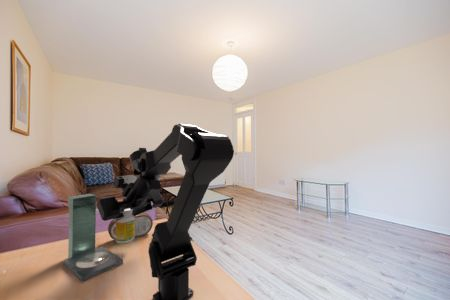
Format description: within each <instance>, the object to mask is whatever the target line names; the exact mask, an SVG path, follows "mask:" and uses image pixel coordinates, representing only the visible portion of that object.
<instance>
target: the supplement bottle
mask: <svg viewBox="0 0 450 300" xmlns="http://www.w3.org/2000/svg"><path fill="white" fill-rule="evenodd" d="M132 211H133V209H132V210H131V209H130V208H129V209H125V210H124V212H123V215H124V217H122V218H121V219H119V220H118V221H116V240H115V242H116V243H117V244H126V243H130V242H132V241H133V240H134V239H135V238H134V236H135V217H134V215H132Z"/></svg>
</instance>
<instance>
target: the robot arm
mask: <svg viewBox="0 0 450 300" xmlns="http://www.w3.org/2000/svg"><path fill="white" fill-rule="evenodd" d="M234 153H235V149H234V145H233V144H232V141H231V139H230V137H229V136H227V134H219V133H218V134H217V133H214V132H210V131H207V130H205V129H202V128H201V127H198V126H197V125H195V124H194V125H193V124H186V123H178V124H174V126H172V129H171V132H170V133H169V134H168V135H167V136H166V137H165V139H164V140H162V142H161V143H160V144H159V145H158V146H157V147H156V148H155V149H154V150H150V151H148V150H147V148H146V147H139V148H138V150H135V151H133V152H131V154H130V155H129V160H130V164H131V169H132V172H133V174H128V175H120V176H116V177H115V178H114V179H113V182H112V183H113V184H112V185H113V186H114V188H115V189H121V191H122V192H121V195H122V197H123V198H122V201H118V199H116V196H114V195H111V196H104V197H100V198H99V199H98V201H96V208H97V210H98V212H99V215H100V218H101V220H102V221H104V222H106V221H109V220H113V221H114V222H116V221H118V220H119V219H121V218H122V217H124V215H123V212H124V210H125V209H129V208H130V209H131V210H132V215H134V216H136V215H139V214H141V213H147V212H149V211H151V210H153V209H156V208H160V207H161V206H162V205H163V203H164V198H163V196H162V195H161V193H160V190H162V184H161V180H160V179H161V177H160V176H161V175H162V176H164V175H167V173H169V171H170V170H171V168H172V166H171V165H172V162H173V161H175V160H176V159H177V158H179V156H181V161H182V164H183V166H184V167H183V168H184V171H185V172H184V176H183V178H182V181H181V184H180V186H179V189H178V192H177V194H176V196H175V200H174V202H173V205H172V207H171V210H170V212H169V215H168V218H167V221H162V222H157V223H156V225H155V226H154V231H153V233H152V234H151V237H152V238H151V241H150V242H149V246H148V256H149V265H150V269H151V270H150V271H151V277H152V278H157V280H158V281H157V282H158V283H157V284H158V286H157V288H158V290H157V291H156V292H155V293H153V295H152V299H153V300H187V299H189V298H190V297H192V295H194V293H195V292H194V289H192V288H190V287H189V282H190V278H189V277H190V275H189V274H190V270H189V269H190V267H194V266H196V263H197V259H198V257H197V254H196V252H195V250H194V247H193V245H192V238H191V236H190V233H189V230H190V227H191V225H192V223H193V221H194V218H195V217H196V215H197V212H198V210H199V208H200V206H201V204H202V201H203V199H204V196H205V195H206V192H207V190H208V187H209V186H210V184H211V182H212V181H214V180H215V179H216V178H217V177H219V176H220V175H221V174H223V173H224V171H226V169H227V167H228V166H229V164H230V163H231V162H232V160H233V158H234ZM136 175H137V176H136Z"/></svg>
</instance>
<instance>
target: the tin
mask: <svg viewBox="0 0 450 300" xmlns="http://www.w3.org/2000/svg"><path fill="white" fill-rule="evenodd" d="M134 217H135V236H134V239H135V238H139V237H144V236H146V235H147V234H148V233H150V231H151V230H152V228H153V224H154V223H153V222H154V221H153V219H152V217H151V215H150V214H149V213H147V212H144V213H141V214H139V215H136V216H134ZM107 233H108V236H109V237H110V238H111V239H113V240H115V241H116V222H114V221H113V219H111V221H110V222H109V224H108V226H107Z"/></svg>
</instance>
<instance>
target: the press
mask: <svg viewBox="0 0 450 300" xmlns="http://www.w3.org/2000/svg"><path fill="white" fill-rule="evenodd" d="M96 204H97V194H93V193H86V194H85V193H83V194H80V195H78V194H77V195H70V196H68V197H67V207H68V255H67V256H68V257H67V258H65V259H63V265H64V266H65V267H66V268H67V269H68V271H69V272H71V274H73V275H74V276H75V277H76V278H77V279H78V280H79V281H80V282H81V283H83V282H86V281H88V280H90V279H93V278H95V277H97V276H99V275H102V274H104V273H105V272H108V271H110V270H113V269H114V268H116V267H119V266H122V265H123V264H124V259H123V258H121V257H120V256H119V255H117V254H115V253H113V252H112V251H110V250H109V249H107V248H106V247H104V246H100V247H97V248H96V225H97V224H96V218H97V214H96V213H97V211H96V210H97V209H96V208H97V205H96Z"/></svg>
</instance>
